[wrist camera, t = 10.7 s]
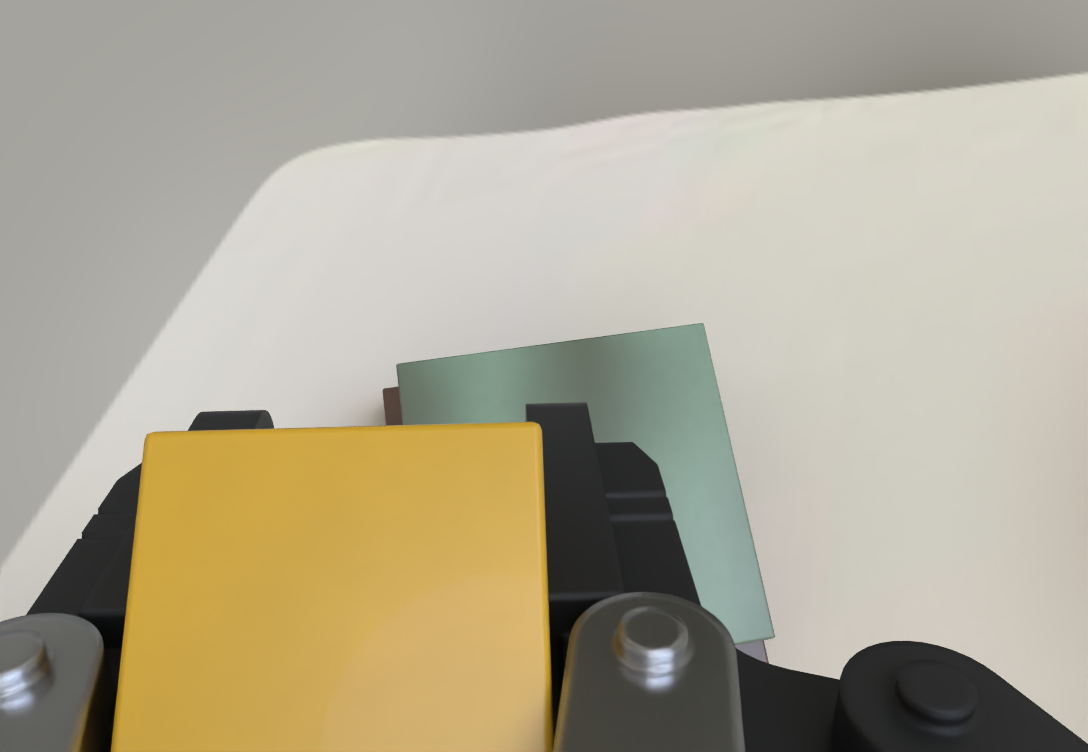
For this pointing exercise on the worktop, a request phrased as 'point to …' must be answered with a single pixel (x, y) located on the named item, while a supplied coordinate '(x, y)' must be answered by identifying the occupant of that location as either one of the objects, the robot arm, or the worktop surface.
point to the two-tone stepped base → (624, 438)
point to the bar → (339, 592)
